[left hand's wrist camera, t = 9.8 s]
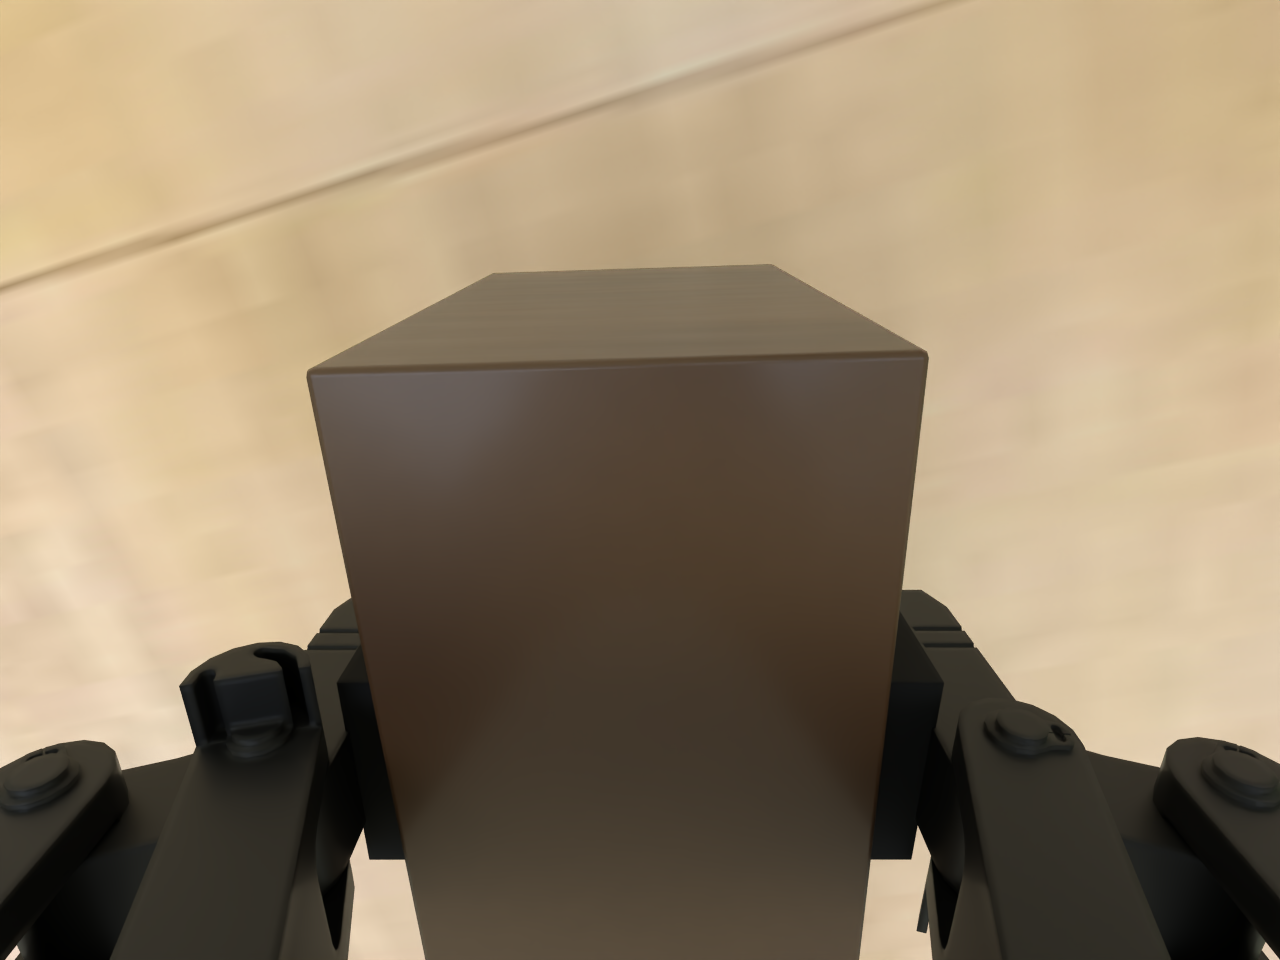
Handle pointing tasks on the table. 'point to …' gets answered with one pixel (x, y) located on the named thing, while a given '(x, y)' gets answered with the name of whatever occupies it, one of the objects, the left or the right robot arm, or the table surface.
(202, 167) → the table surface
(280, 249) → the table surface
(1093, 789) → the left robot arm
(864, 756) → the beam
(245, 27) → the table surface
